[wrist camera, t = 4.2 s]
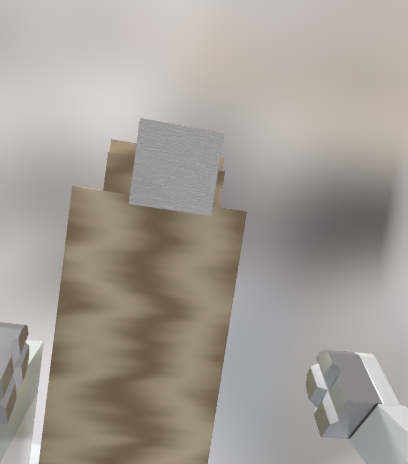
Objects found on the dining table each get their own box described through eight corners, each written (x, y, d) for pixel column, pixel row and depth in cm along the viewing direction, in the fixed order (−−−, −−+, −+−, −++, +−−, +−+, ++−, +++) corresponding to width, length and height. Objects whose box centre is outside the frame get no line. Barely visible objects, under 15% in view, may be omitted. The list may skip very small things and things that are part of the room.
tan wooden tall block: (28, 551, 27) (78, 131, 25) (42, 506, 31) (87, 140, 29) (194, 549, 29) (254, 161, 27) (188, 507, 33) (240, 165, 31)
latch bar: (128, 204, 18) (140, 118, 18) (134, 192, 29) (141, 139, 28) (211, 215, 19) (224, 133, 18) (187, 200, 30) (194, 148, 29)
